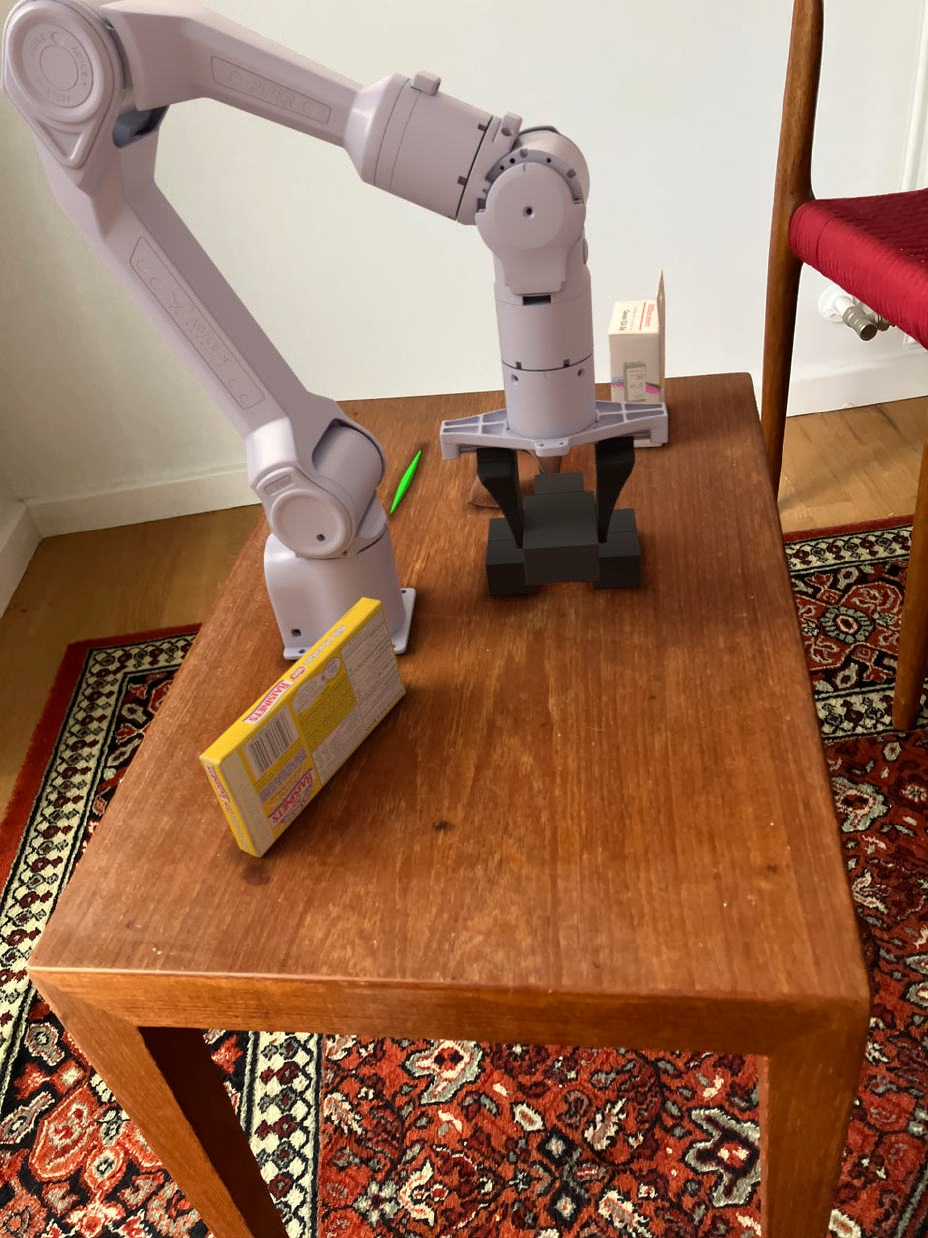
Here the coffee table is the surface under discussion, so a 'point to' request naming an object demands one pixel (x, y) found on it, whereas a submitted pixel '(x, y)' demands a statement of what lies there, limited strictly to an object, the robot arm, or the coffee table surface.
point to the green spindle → (405, 482)
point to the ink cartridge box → (638, 352)
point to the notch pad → (614, 557)
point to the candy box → (304, 727)
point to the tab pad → (560, 531)
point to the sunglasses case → (527, 470)
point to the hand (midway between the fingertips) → (560, 538)
